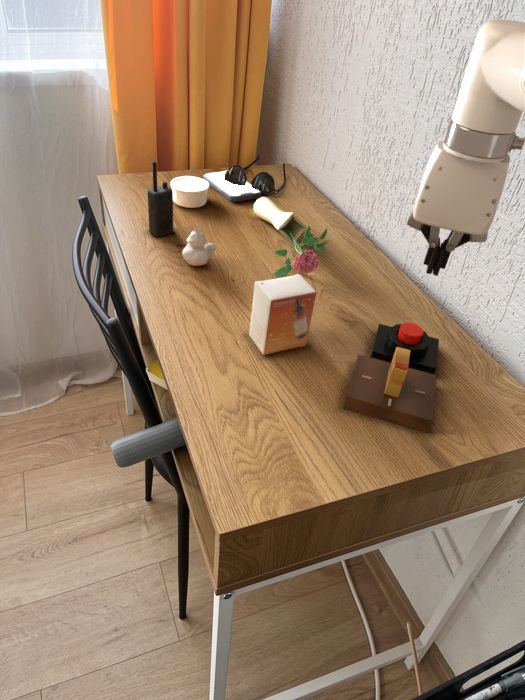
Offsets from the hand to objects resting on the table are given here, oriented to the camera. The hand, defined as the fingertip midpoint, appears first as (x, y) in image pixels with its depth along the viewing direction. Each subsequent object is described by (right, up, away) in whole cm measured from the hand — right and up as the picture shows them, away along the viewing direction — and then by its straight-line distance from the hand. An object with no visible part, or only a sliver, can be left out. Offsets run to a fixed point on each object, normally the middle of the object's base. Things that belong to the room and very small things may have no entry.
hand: (432, 270), depth 76 cm
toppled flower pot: (-20, +8, +32) cm, 39 cm away
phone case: (-32, +29, +56) cm, 71 cm away
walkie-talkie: (-46, +13, +35) cm, 59 cm away
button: (-1, -10, +8) cm, 12 cm away
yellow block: (-6, -17, 0) cm, 17 cm away
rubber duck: (-37, +5, +27) cm, 46 cm away
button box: (-2, -12, +10) cm, 16 cm away
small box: (-22, -10, +10) cm, 26 cm away
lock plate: (-6, -19, +2) cm, 20 cm away
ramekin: (-42, +23, +48) cm, 67 cm away
